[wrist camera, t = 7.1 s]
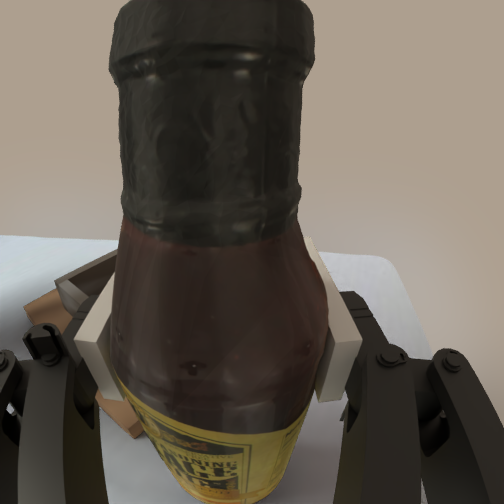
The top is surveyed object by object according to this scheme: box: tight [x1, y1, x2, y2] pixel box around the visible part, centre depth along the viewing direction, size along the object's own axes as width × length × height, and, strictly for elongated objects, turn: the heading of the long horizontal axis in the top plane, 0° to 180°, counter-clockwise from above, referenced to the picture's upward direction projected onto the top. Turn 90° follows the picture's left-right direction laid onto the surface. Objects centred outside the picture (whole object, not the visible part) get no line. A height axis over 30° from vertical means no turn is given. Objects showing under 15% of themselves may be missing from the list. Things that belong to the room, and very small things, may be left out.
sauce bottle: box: [109, 0, 329, 504], centre depth 9 cm, size 7×6×20 cm
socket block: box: [24, 249, 144, 439], centre depth 28 cm, size 22×20×5 cm
